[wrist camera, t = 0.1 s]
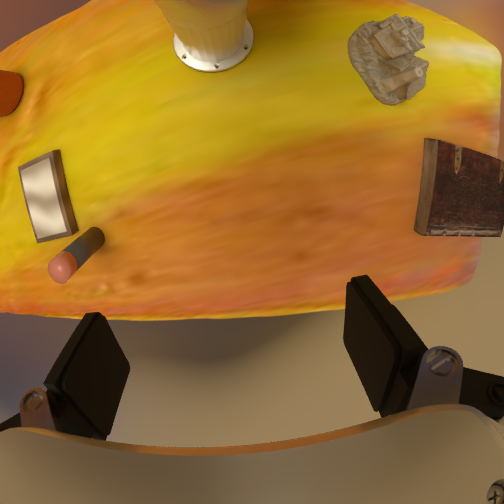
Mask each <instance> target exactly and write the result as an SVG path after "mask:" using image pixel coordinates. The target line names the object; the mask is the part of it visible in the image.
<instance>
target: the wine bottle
mask: <svg viewBox="0 0 504 504" xmlns="http://www.w3.org/2000/svg"><path fill="white" fill-rule="evenodd" d="M22 90H23V82H22V78H21V76H20V75H19V74H17V73H14V72H9V71H3V70H0V117H1V116H6V115H8V114H10V113H11V112H12V111H13V110H14V109H15V108H16V106H17V104H18V103H19V100H20V98H21V95H22Z"/></svg>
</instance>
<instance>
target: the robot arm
mask: <svg viewBox="0 0 504 504" xmlns="http://www.w3.org/2000/svg"><path fill="white" fill-rule="evenodd" d="M154 1H155V2H156V4H157V5H158V6H159V8H160V9H161V11H162V12H163V14H164V15H165V17H166V19H167V20H168V22H169V23H170V25H171V27H172V28H173V30H174V32H175V35H174V40H173V45H174V49H175V52H176V54H177V56H178V57H179V59H180V60H181V61H182V62H183V63H184V64H185V65H187V66H188V67H190V68H192V69H194V70H197V71H202V72H220V71H224V70H227V69H230V68H232V67H234V66H236V65H237V64H239V63H240V62H241V61H242V60H243V59H245V58H246V56H247V55H248V54H249V52H250V50H251V48H252V45H253V40H254V33H253V28H252V26H251V24H250V22H249V21H248V20H247V18H246V14H247V6H248V0H154ZM244 48H247V50H245V49H244ZM184 57H187V58H186V59H184ZM216 66H219V68H216ZM343 340H344V345H345V347H346V349H347V352H348V354H349V356H350V358H351V360H352V362H353V365H354V367H355V369H356V371H357V373H358V376H359V378H360V380H361V382H362V385H363V387H364V389H365V391H366V394H367V396H368V398H369V400H370V403H371V405H372V407H373V409H374V411H376V412H377V411H379V413H380V415H381V417H382V418H379V419H376V420H373V421H369V422H366V423H362V424H359V425H355V426H351V427H348V428H343V429H340V430H335V431H331V432H326V433H322V434H317V435H312V436H307V437H302V438H297V439H291V440H284V441H277V442H270V443H262V444H253V445H241V446H227V447H201V448H199V447H197V448H194V447H191V448H190V447H189V448H188V447H157V446H145V445H133V444H124V443H117V442H110V441H106V438H107V435H109V434H110V432H111V429H112V426H113V422H114V419H115V415H116V412H117V409H118V406H119V402H120V399H121V396H122V393H123V390H124V387H125V384H126V381H127V378H128V375H129V372H130V365H129V362H128V360H127V359H126V357H125V355H124V353H123V351H122V349H121V348H120V346H119V344H118V342H117V340H116V338H115V336H114V334H113V332H112V330H111V328H110V326H109V324H108V322H107V320H106V318H105V316H103V315H102V314H101V313H99V312H92V313H86V314H85V315H84V317H83V318H82V320H81V321H80V323H79V324H78V326H77V328H76V329H75V331H74V332H73V334H72V335H71V337H70V339H69V340H68V342H67V343H66V345H65V347H64V348H63V350H62V352H61V354H60V355H59V357H58V358H57V360H56V362H55V364H54V365H53V367H52V369H51V370H50V372H49V374H48V376H47V378H46V379H45V381H44V383H43V384H44V385H45V386H46V387H47V389H48V390H47V392H45V390H43V389H42V388H33V389H30V390H29V391H27V392H26V393H25V395H23V397H22V399H21V401H20V405H19V408H20V413H18V414H16V415H15V416H13V417H11V418H10V419H8V420H6V421H4V422H3V423H1V424H0V504H504V377H502V376H498V375H494V374H489V373H485V372H481V371H477V370H473V369H469V368H465V367H463V361H462V358H461V356H460V355H459V354H458V353H457V352H456V351H455V350H453V349H451V348H448V347H445V346H436V347H432V348H430V349H428V348H427V347H426V346H425V345H424V343H423V342H422V340H421V339H420V338H419V336H418V335H417V334H416V332H415V331H414V330H413V328H412V327H411V326H410V324H409V323H408V322H407V321H406V319H405V318H404V317H403V315H402V314H401V313H400V312H399V311H398V309H397V308H396V307H395V306H394V305H392V304H391V303H390V302H389V301H388V300H387V298H386V297H385V296H384V295H383V293H382V292H381V291H380V290H379V288H378V287H377V286H376V285H375V284H374V282H373V281H372V280H371V279H370V278H369V276H367V275H362V276H357V277H352V278H351V282H348V283H347V286H346V306H345V321H344V335H343ZM389 415H390V416H389ZM92 438H93V439H92Z"/></svg>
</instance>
